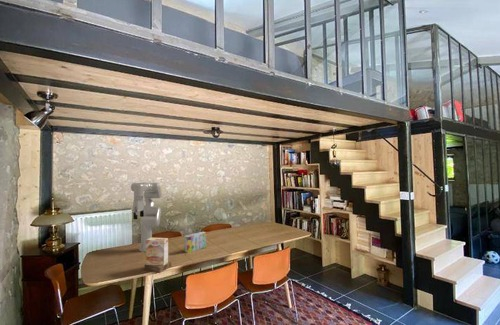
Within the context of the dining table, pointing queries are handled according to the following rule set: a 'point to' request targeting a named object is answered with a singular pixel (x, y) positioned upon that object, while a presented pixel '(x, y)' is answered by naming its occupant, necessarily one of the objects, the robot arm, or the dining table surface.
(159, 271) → the block
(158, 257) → the coffeecake box
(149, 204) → the robot arm
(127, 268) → the dining table surface
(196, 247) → the snack box
